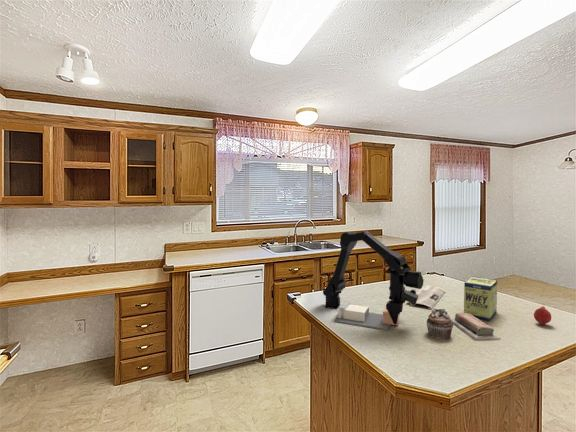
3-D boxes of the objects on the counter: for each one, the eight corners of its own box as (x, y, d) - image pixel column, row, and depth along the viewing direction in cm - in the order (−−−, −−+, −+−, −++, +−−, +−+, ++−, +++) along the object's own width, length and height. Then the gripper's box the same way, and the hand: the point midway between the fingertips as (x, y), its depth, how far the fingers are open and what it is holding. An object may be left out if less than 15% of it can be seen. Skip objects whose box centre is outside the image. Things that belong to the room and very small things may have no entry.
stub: (382, 323, 136) (382, 311, 136) (384, 319, 141) (384, 308, 141) (397, 325, 134) (397, 313, 134) (399, 321, 138) (399, 309, 138)
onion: (546, 328, 130) (547, 309, 129) (530, 323, 135) (531, 305, 134) (553, 325, 133) (554, 307, 132) (537, 321, 138) (538, 303, 137)
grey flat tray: (334, 321, 140) (334, 309, 140) (344, 310, 155) (344, 298, 154) (388, 330, 130) (388, 317, 130) (393, 317, 145) (393, 305, 144)
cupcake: (422, 330, 131) (422, 306, 130) (446, 329, 130) (446, 306, 130) (432, 340, 121) (432, 314, 120) (457, 340, 121) (458, 314, 120)
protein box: (463, 316, 145) (463, 282, 144) (472, 307, 156) (472, 276, 155) (490, 322, 138) (490, 286, 137) (497, 312, 149) (497, 279, 148)
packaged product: (450, 311, 138) (472, 311, 138) (450, 322, 139) (472, 322, 139) (475, 328, 120) (501, 328, 120) (474, 341, 121) (500, 340, 121)
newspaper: (431, 310, 153) (431, 303, 153) (405, 305, 161) (405, 299, 160) (445, 292, 181) (445, 286, 181) (422, 289, 189) (422, 283, 189)
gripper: (415, 292, 124) (415, 331, 124) (418, 281, 140) (418, 315, 141) (385, 289, 128) (385, 327, 129) (392, 278, 145) (392, 311, 146)
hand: (396, 320), depth 136 cm, fingers open, 9 cm apart
